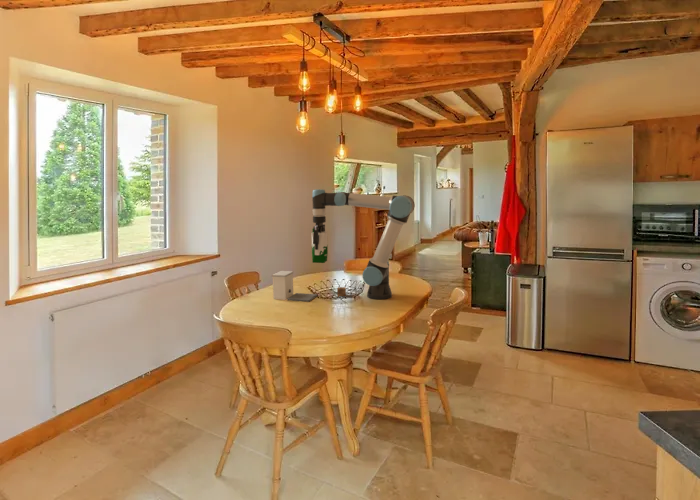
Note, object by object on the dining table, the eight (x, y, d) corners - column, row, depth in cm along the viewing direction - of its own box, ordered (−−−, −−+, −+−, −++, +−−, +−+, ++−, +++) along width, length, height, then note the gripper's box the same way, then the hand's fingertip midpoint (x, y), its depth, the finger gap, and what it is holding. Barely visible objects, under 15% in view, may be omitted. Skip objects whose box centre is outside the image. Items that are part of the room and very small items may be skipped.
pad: (317, 295, 273) (317, 294, 273) (309, 301, 259) (309, 300, 259) (296, 294, 277) (296, 293, 276) (287, 300, 263) (287, 298, 263)
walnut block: (345, 295, 274) (345, 287, 273) (345, 297, 269) (345, 289, 268) (337, 295, 274) (337, 287, 273) (337, 297, 269) (337, 289, 268)
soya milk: (314, 260, 267) (314, 227, 264) (329, 260, 266) (328, 227, 263) (310, 262, 259) (309, 229, 256) (325, 263, 257) (324, 229, 254)
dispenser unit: (294, 294, 276) (293, 271, 274) (286, 299, 264) (285, 275, 262) (281, 294, 279) (280, 270, 276) (272, 299, 267) (271, 274, 264)
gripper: (319, 214, 269) (319, 250, 273) (306, 217, 249) (307, 256, 252) (330, 214, 267) (331, 251, 271) (319, 217, 247) (319, 257, 250)
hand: (319, 253), depth 262 cm, fingers closed on soya milk, 9 cm apart
